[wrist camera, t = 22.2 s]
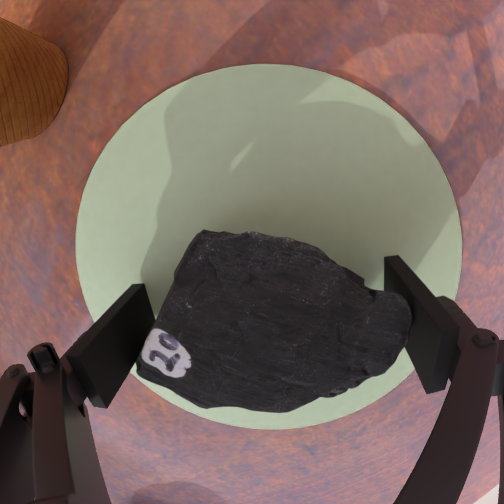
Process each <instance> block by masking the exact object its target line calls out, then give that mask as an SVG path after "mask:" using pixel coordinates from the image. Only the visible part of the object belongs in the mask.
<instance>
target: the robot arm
mask: <svg viewBox="0 0 504 504" xmlns="http://www.w3.org/2000/svg"><path fill="white" fill-rule="evenodd" d="M384 291H391V292H395V293H397V294H400V295H402V296H403V297H404V299H405V300H406V301H407V303H408V305H409V307H410V309H411V312H412V314H413V324H412V327H411V329H410V330H409V333H410V338H409V342H408V344H407V345H406V346H405V349H406V351H407V353H408V355H409V357H410V360H411V362H412V364H413V366H414V368H415V370H416V372H417V374H418V376H419V379H420V381H421V383H422V385H423V387H424V389H425V392H426V394H430V393H434V392H437V391H441V390H445V387H446V384H447V380H448V378H449V379H450V381H451V385H450V388H449V390H448V393H447V396H446V398H445V401H444V404H443V406H442V409H441V411H440V414H439V416H438V418H437V421H436V423H435V425H434V428H433V430H432V432H431V434H430V437H429V439H428V441H427V443H426V445H425V447H424V449H423V451H422V453H421V455H420V457H419V459H418V461H417V463H416V465H415V467H414V469H413V471H412V473H411V474H410V476H409V478H408V480H407V482H406V483H405V485H404V487H403V489H402V490H401V492H400V494H399V495H398V497H397V498H396V500H395V502H394V503H393V504H456V503H457V501H458V498H459V496H460V494H461V491H462V489H463V486H464V484H465V481H466V479H467V476H468V474H469V471H470V468H471V465H472V462H473V460H474V457H475V454H476V450H477V447H478V444H479V441H480V437H481V434H482V430H483V427H484V423H485V419H486V415H487V411H488V407H489V402H490V398H491V396H498V407H499V421H500V484H499V485H500V486H499V497H498V504H504V340H499V338H498V336H497V335H496V334H495V333H494V332H492V331H491V330H487V329H482V328H477V327H476V326H475V325H474V323H473V322H472V321H471V320H470V319H469V318H468V317H467V315H466V314H465V313H463V311H462V310H461V309H460V308H459V306H458V305H457V304H456V303H455V302H454V301H453V300H452V299H450V298H448V297H446V296H444V295H443V296H438V297H435V296H434V295H433V293H432V292H431V291H430V290H429V289H428V288H427V286H426V285H425V284H424V283H423V282H422V281H421V280H420V278H419V277H418V276H417V275H416V274H415V273H414V272H413V270H412V269H411V268H410V267H409V266H408V265H407V264H406V263H405V262H404V261H403V259H402V258H401V257H400V256H399V255H394V256H386V257H384ZM155 321H156V319H155V316H154V313H153V310H152V307H151V304H150V300H149V297H148V294H147V291H146V287H145V284H144V283H138V284H132V285H131V286H130V287H129V288H128V289H127V290H126V291H125V292H124V293H123V294H122V295H121V296H120V297H119V298H118V299H117V300H116V301H115V302H114V303H113V304H112V305H111V306H110V307H109V308H108V309H107V310H106V312H105V313H104V314H103V315H102V316H101V317H100V318H99V319H98V320H97V321H96V322H95V323H94V324H93V325H92V326H91V327H90V328H89V330H88V331H86V332H85V333H83V334H82V335H81V336H80V337H79V338H78V339H77V341H76V342H75V343H74V344H73V346H71V347H70V348H69V349H68V350H67V352H66V353H65V354H64V355H63V356H62V357H61V358H60V359H59V357H58V355H57V353H56V351H55V349H54V347H53V345H52V344H51V343H41V344H39V345H37V346H35V347H33V348H32V349H31V350H30V351H29V352H28V354H27V356H28V358H29V360H30V362H31V364H32V366H33V368H34V369H35V371H36V372H32V373H28V372H27V370H26V368H25V367H24V365H23V364H16V365H12V366H10V367H8V369H7V370H6V371H5V372H4V373H3V375H2V377H1V379H0V504H111V501H110V498H109V495H108V492H107V489H106V485H105V482H104V479H103V475H102V472H101V468H100V464H99V460H98V456H97V452H96V448H95V444H94V440H93V435H92V430H91V426H90V421H89V415H88V410H87V407H86V405H85V404H84V400H85V399H86V397H88V398H89V400H90V402H91V403H92V405H93V406H94V407H100V408H106V409H107V408H108V406H109V405H110V403H111V401H112V400H113V398H114V396H115V395H116V393H117V392H118V390H119V388H120V387H121V385H122V383H123V382H124V380H125V379H126V377H127V375H128V374H129V372H130V370H131V369H132V367H133V366H134V364H135V362H136V361H137V358H138V356H139V354H140V352H141V350H142V348H143V346H144V343H145V340H146V338H147V336H148V333H149V332H150V330H151V328H152V326H153V325H154V323H155ZM19 405H20V407H21V408H22V409H23V411H24V415H23V416H22V415H21V414H20V412H19ZM34 500H35V501H34Z"/></svg>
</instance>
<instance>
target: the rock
mask: <svg viewBox="0 0 504 504" xmlns="http://www.w3.org/2000/svg"><path fill="white" fill-rule="evenodd" d="M364 280H365V279H364V278H362V277H361V276H359V275H357V274H356V273H354V272H353V271H351V270H349V269H348V268H346V267H343V266H340V265H338V264H337V263H336V262H335V261H333V260H332V259H330V258H329V257H328V256H327V255H326V254H325V253H324V252H323V251H322V250H320V249H319V248H318V247H315V246H313V245H310V244H307V243H304V242H301V241H296V240H294V239H291V238H289V237H275V236H270V235H266V234H262V233H259V232H253V231H246V232H244V233H241V234H234V233H230V232H226V231H222V232H215V231H209V230H204V229H203V230H202V231H201V232H199V233H197V234H196V236H195V237H194V238H193V240H192V241H191V242H190V244H189V245H188V247H187V249H186V251H185V253H184V255H183V257H182V259H181V261H180V262H179V264H178V265H177V267H176V269H175V271H174V281H173V283H172V285H171V287H170V290H169V292H168V294H167V296H166V298H165V300H164V302H163V304H162V306H161V309H160V311H159V314H158V316H157V318H156V321H155V323H154V325H153V326H152V328H151V330H150V332H149V333H148V336H147V338H146V340H145V343H144V346H143V348H142V350H141V352H140V354H139V356H138V358H137V361H136V367H137V369H136V372H137V374H138V376H139V377H141V378H143V379H145V380H147V381H149V382H152V383H154V384H157V385H160V386H162V387H165V388H168V389H169V390H171V391H173V392H174V393H175V394H177V395H179V396H180V397H182V398H184V399H186V400H188V401H189V402H191V403H193V404H194V405H196V406H198V407H200V408H204V409H209V408H217V407H239V408H244V409H247V410H251V411H259V412H270V413H287V412H290V411H293V410H295V409H297V408H300V407H302V406H304V405H306V404H308V403H310V402H312V401H314V400H316V399H318V398H319V397H324V398H333V397H335V396H338V395H340V394H343V393H345V392H347V390H348V389H349V388H350V389H353V388H356V387H358V386H359V385H360V384H361V383H363V382H364V381H365V380H367V379H369V378H371V377H376V376H379V375H382V374H384V373H386V371H387V370H388V369H389V368H390V367H391V366H392V365H393V364H394V363H395V361H396V360H397V357H398V355H399V354H400V352H401V351H402V349H403V348H404V347H405V346H406V345H407V344H408V342H409V338H410V333H409V330H410V329H411V327H412V324H413V314H412V312H411V309H410V307H409V305H408V303H407V301H406V300H405V299H404V297H403V296H402V295H400V294H397V293H395V292H391V291H382V290H375V289H371V288H368V287H366V286H365V285H364Z"/></svg>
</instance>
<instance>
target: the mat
mask: <svg viewBox="0 0 504 504" xmlns="http://www.w3.org/2000/svg"><path fill="white" fill-rule="evenodd" d="M203 229H204V230H209V231H215V232H222V231H226V232H230V233H234V234H241V233H244V232H246V231H253V232H259V233H262V234H266V235H270V236H275V237H289V238H291V239H294V240H296V241H301V242H304V243H307V244H310V245H313V246H315V247H318V248H319V249H320V250H322V251H323V252H324V253H325V254H326V255H327V256H328V257H329V258H330V259H332V260H333V261H335V262H336V263H337V264H338V265H340V266H343V267H346V268H348V269H349V270H351V271H353V272H354V273H356V274H357V275H359V276H361V277H362V278H364V279H365V280H364V285H365V286H366V287H368V288H371V289H375V290H382V291H384V257H386V256H394V255H399V256H400V257H401V258H402V259H403V261H404V262H405V263H406V264H407V265H408V266H409V267H410V268H411V269H412V270H413V272H414V273H415V274H416V275H417V276H418V277H419V278H420V280H421V281H422V282H423V283H424V284H425V285H426V286H427V288H428V289H429V290H430V291H431V292H432V293H433V295H434V296H435V297H438V296H443V295H444V296H446V297H448V298H450V299H452V300H453V301H454V300H455V297H456V294H457V290H458V285H459V279H460V273H461V267H462V235H461V227H460V219H459V214H458V210H457V206H456V203H455V199H454V196H453V192H452V189H451V187H450V184H449V182H448V180H447V178H446V175H445V173H444V171H443V169H442V167H441V165H440V163H439V161H438V160H437V158H436V157H435V155H434V154H433V152H432V151H431V149H430V148H429V146H428V145H427V143H426V142H425V140H424V139H423V138H422V137H421V136H420V134H419V133H418V132H417V131H416V130H415V129H414V128H413V127H412V126H411V125H410V123H409V122H408V121H407V120H406V119H405V118H404V117H403V116H401V115H400V114H399V113H398V112H397V111H395V110H394V109H393V108H392V107H390V106H389V105H388V104H387V103H385V102H384V101H383V100H381V99H380V98H379V97H377V96H375V95H373V94H372V93H370V92H368V91H367V90H365V89H363V88H361V87H359V86H358V85H356V84H354V83H352V82H349V81H347V80H344V79H342V78H339V77H336V76H334V75H331V74H328V73H325V72H323V71H318V70H313V69H309V68H304V67H299V66H293V65H281V64H250V65H241V66H233V67H226V68H222V69H219V70H215V71H211V72H208V73H204V74H201V75H198V76H195V77H193V78H190V79H188V80H186V81H184V82H182V83H179V84H177V85H175V86H173V87H171V88H169V89H167V90H166V91H164V92H163V93H161V94H160V95H158V96H157V97H155V98H154V99H152V100H151V101H149V102H148V103H146V104H145V105H144V106H142V107H141V108H140V109H139V110H138V111H137V112H136V113H135V114H134V115H132V116H131V117H130V118H129V119H128V120H127V121H126V122H125V123H124V124H123V125H122V126H121V127H120V129H119V130H118V131H117V132H116V133H115V135H114V136H113V137H112V138H111V140H110V141H109V142H108V144H107V145H106V146H105V148H104V150H103V151H102V153H101V155H100V156H99V158H98V160H97V162H96V163H95V165H94V167H93V169H92V171H91V174H90V176H89V179H88V181H87V184H86V186H85V189H84V192H83V195H82V199H81V204H80V208H79V212H78V218H77V228H76V262H77V269H78V274H79V280H80V285H81V288H82V292H83V295H84V298H85V301H86V305H87V307H88V309H89V312H90V314H91V316H92V318H93V321H94V323H95V322H96V321H97V320H98V319H99V318H100V317H101V316H102V315H103V314H104V313H105V312H106V310H107V309H108V308H109V307H110V306H111V305H112V304H113V303H114V302H115V301H116V300H117V299H118V298H119V297H120V296H121V295H122V294H123V293H124V292H125V291H126V290H127V289H128V288H129V287H130V286H131V285H132V284H138V283H144V284H145V287H146V291H147V294H148V297H149V300H150V304H151V307H152V310H153V313H154V316H155V319H156V318H157V316H158V314H159V311H160V309H161V306H162V304H163V302H164V300H165V298H166V296H167V294H168V292H169V290H170V287H171V285H172V283H173V281H174V271H175V269H176V267H177V265H178V264H179V262H180V261H181V259H182V257H183V255H184V253H185V251H186V249H187V247H188V245H189V244H190V242H191V241H192V240H193V238H194V237H195V236H196V234H197V233H199V232H201V231H202V230H203ZM136 369H137V367H136V362H135V364H134V366H133V367H132V369H131V370H130V372H131V373H132V374H133V375H134V376H135V377H136V378H138V379H139V380H140V381H141V382H142V383H143V384H145V385H146V386H147V387H148V388H149V389H151V390H152V391H154V392H155V393H157V394H158V395H160V396H161V397H163V398H164V399H166V400H167V401H169V402H171V403H173V404H175V405H176V406H178V407H180V408H182V409H184V410H186V411H189V412H191V413H193V414H196V415H198V416H201V417H203V418H206V419H210V420H213V421H216V422H220V423H223V424H228V425H233V426H238V427H244V428H254V429H291V428H300V427H307V426H312V425H317V424H321V423H325V422H329V421H332V420H335V419H338V418H341V417H344V416H346V415H349V414H351V413H353V412H355V411H358V410H360V409H362V408H364V407H366V406H368V405H369V404H371V403H373V402H374V401H376V400H378V399H379V398H381V397H383V396H384V395H385V394H387V393H388V392H389V391H391V390H392V389H393V388H395V387H396V386H397V385H399V384H400V383H401V382H402V381H403V380H404V379H405V378H406V377H407V376H408V375H409V374H410V373H411V372H412V371H413V370H414V369H415V368H414V366H413V364H412V362H411V360H410V357H409V355H408V353H407V351H406V349H405V347H404V348H403V349H402V351H401V352H400V354H399V355H398V357H397V360H396V361H395V363H394V364H393V365H392V366H391V367H390V368H389V369H388V370H387V371H386V373H384V374H382V375H379V376H376V377H371V378H369V379H367V380H365V381H364V382H363V383H361V384H360V385H359V386H358V387H356V388H353V389H350V388H349V389H348V390H347V392H345V393H343V394H340V395H338V396H335V397H333V398H324V397H319V398H318V399H316V400H314V401H312V402H310V403H308V404H306V405H304V406H302V407H300V408H297V409H295V410H293V411H290V412H287V413H270V412H259V411H251V410H247V409H244V408H239V407H217V408H209V409H204V408H200V407H198V406H196V405H194V404H193V403H191V402H189V401H188V400H186V399H184V398H182V397H180V396H179V395H177V394H175V393H174V392H173V391H171V390H169V389H168V388H165V387H162V386H160V385H157V384H154V383H152V382H149V381H147V380H145V379H143V378H141V377H139V376H138V374H137V372H136Z"/></svg>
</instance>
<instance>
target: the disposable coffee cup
mask: <svg viewBox="0 0 504 504" xmlns="http://www.w3.org/2000/svg"><path fill="white" fill-rule="evenodd" d="M67 78H68V66H67V61H66V57H65V55H64V53H63V51H62V50H61V49H60V48H59V47H58V46H57V45H55V44H53V43H51V42H49V41H47V40H45V39H43V38H41V37H39V36H37V35H35V34H33V33H31V32H29V31H27V30H25V29H23V28H21V27H19V26H17V25H15V24H13V23H11V22H9V21H7V20H5V19H3V18H0V147H1V146H5V145H8V144H12V143H15V142H18V141H22V140H26V139H30V138H33V137H35V136H37V135H39V134H40V133H41V132H43V131H44V130H45V129H46V128H47V127H48V126H49V125H50V123H51V122H52V120H53V119H54V118H55V116H56V114H57V112H58V110H59V108H60V106H61V104H62V101H63V98H64V95H65V91H66V86H67Z"/></svg>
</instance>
